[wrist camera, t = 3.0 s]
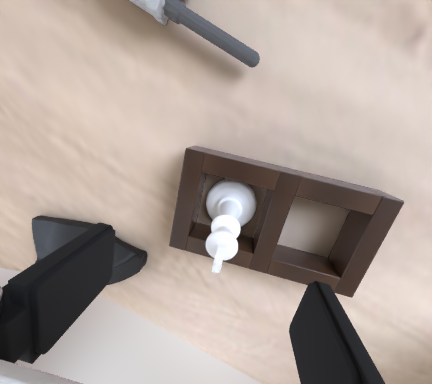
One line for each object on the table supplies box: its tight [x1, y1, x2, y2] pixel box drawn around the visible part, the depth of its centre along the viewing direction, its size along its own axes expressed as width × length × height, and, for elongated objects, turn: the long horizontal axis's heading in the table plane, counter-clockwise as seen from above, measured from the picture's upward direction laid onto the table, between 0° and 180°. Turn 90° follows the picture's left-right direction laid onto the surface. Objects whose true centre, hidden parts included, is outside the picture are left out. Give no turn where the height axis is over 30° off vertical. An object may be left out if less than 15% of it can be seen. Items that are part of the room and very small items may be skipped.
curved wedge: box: [32, 216, 147, 285], centre depth 24 cm, size 8×14×2 cm, turn 82°
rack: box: [169, 146, 404, 297], centre depth 18 cm, size 17×9×3 cm, turn 77°
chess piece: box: [206, 179, 257, 273], centre depth 15 cm, size 5×5×10 cm
